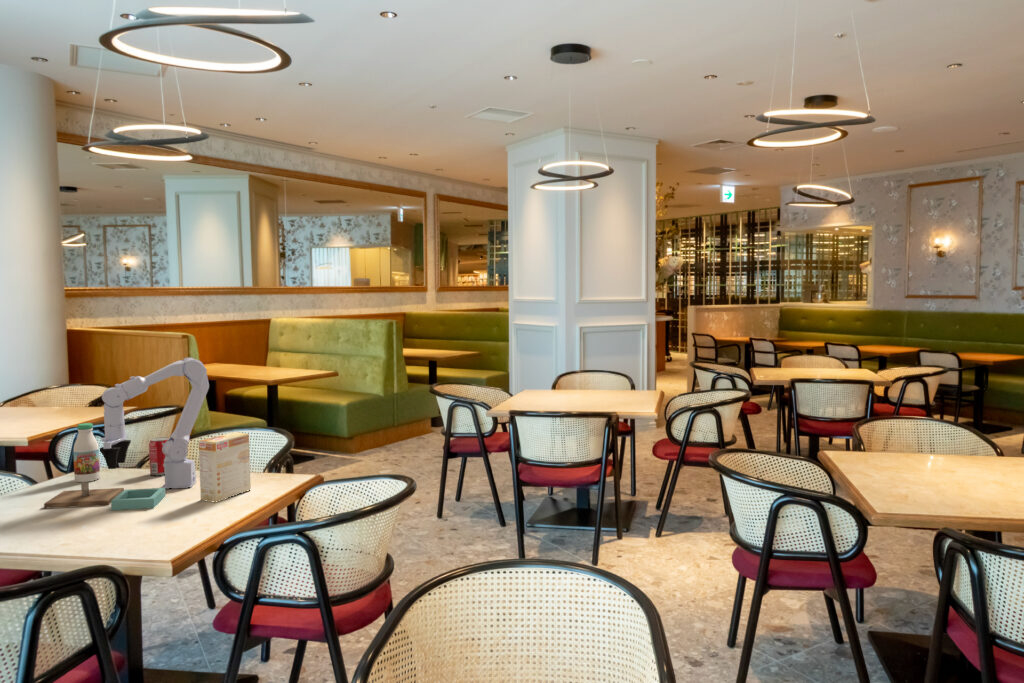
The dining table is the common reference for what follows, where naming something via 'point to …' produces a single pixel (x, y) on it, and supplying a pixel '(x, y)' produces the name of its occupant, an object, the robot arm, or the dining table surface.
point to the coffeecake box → (224, 466)
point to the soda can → (157, 455)
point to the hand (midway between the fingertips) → (116, 465)
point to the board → (84, 497)
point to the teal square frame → (138, 498)
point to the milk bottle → (86, 455)
